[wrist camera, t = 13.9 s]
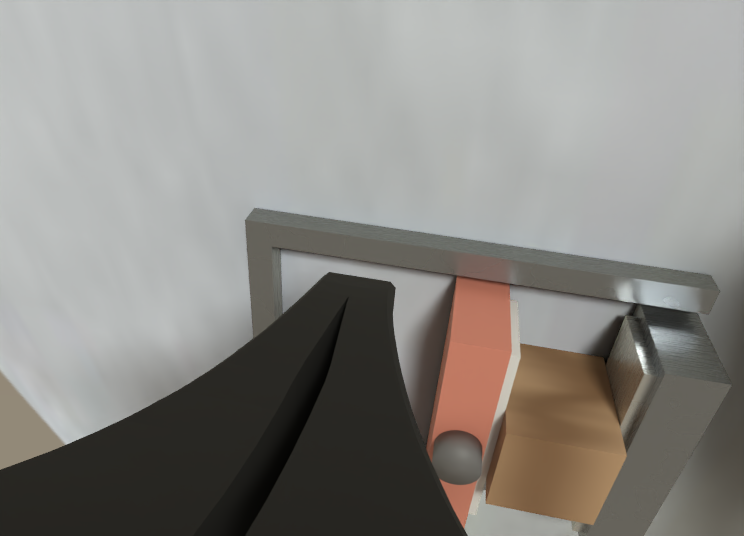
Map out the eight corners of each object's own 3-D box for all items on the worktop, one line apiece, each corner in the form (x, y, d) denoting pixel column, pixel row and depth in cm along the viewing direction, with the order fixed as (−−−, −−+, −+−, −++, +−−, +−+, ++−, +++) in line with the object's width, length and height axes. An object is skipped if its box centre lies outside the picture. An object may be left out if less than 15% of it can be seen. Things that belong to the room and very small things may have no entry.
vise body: (710, 275, 20) (753, 348, 17) (604, 495, 27) (619, 577, 24) (254, 208, 22) (212, 261, 19) (267, 430, 29) (238, 497, 26)
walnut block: (603, 356, 23) (627, 455, 19) (577, 423, 25) (593, 525, 21) (504, 340, 23) (506, 433, 19) (487, 406, 26) (485, 503, 21)
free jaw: (520, 284, 21) (525, 375, 17) (476, 453, 27) (472, 553, 23) (457, 274, 22) (447, 361, 18) (426, 444, 27) (414, 540, 23)
